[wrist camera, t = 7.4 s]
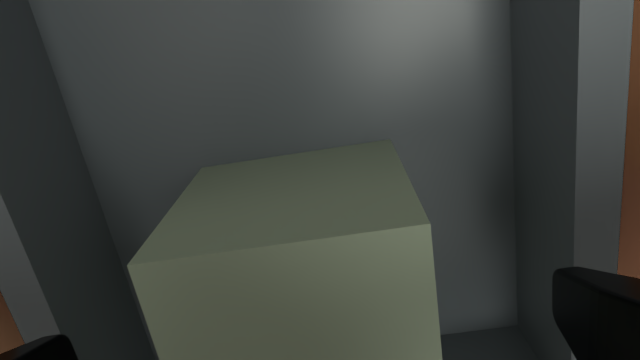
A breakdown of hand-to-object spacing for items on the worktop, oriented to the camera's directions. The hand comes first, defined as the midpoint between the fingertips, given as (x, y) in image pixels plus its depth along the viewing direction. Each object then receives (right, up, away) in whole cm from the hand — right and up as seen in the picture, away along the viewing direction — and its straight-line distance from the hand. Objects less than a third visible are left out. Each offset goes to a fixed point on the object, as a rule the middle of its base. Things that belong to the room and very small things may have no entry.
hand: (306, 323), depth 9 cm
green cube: (0, +1, +3) cm, 3 cm away
